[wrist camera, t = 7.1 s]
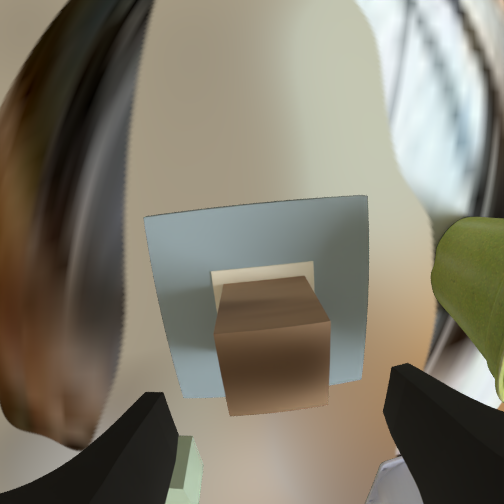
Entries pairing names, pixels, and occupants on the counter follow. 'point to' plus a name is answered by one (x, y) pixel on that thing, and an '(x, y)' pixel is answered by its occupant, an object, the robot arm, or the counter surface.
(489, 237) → the plant pot
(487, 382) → the counter surface
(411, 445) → the robot arm
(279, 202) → the board
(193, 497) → the sage block
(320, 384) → the walnut block
